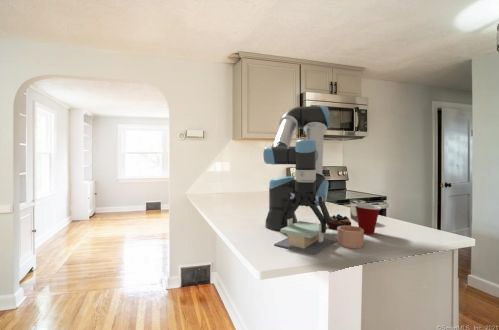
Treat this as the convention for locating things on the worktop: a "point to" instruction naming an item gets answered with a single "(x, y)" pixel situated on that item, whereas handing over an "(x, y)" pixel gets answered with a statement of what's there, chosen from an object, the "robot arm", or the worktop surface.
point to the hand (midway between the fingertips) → (305, 238)
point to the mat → (308, 249)
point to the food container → (353, 209)
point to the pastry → (338, 222)
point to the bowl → (350, 236)
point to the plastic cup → (367, 217)
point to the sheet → (302, 229)
